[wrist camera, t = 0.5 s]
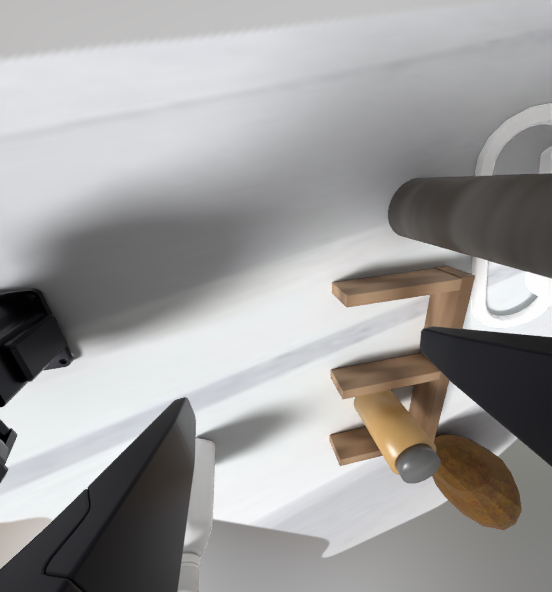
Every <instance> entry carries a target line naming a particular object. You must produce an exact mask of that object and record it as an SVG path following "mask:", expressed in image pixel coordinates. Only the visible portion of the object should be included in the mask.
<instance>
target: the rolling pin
mask: <svg viewBox="0 0 552 592" xmlns="http://www.w3.org/2000/svg"><path fill="white" fill-rule="evenodd" d="M542 124H546V125H551V126H552V103H548V104H543V105H537V106H532V107H530V108H528V109H526V110H524V111H522V112H520V113H518V114H516V115H514V116H513V117H511V118H509V119H507V120H506V121H505V122H504V123H503V124H502V125H501V126H500V127H499V128H498V129H497V130H496V131H495V132H494V133H493V134H491V135H490V136H489V138H488V139H487V141H486V143H485V145H484V147H483V149H482V150H481V152H480V154H479V156H478V160H477V165H476V170H475V175H474V176H492V175H493V171H494V167H495V163H496V159H497V157H498V155H499V154H500V152H501V150H502V149H503V147H504V146H505V144H506V143H508V142H509V141H510V140H511V139H512V138H513V137H514V136H515V135H516V134H517V133H519V132H521V131H523V130H525V129H527V128H529V127H531V126H536V125H542ZM546 173H552V146H551V147H549V148H548V149H546V150H545V151H543V152H542V154H541V157H540V165H539V173H538V174H546ZM487 271H488V260H484V259H481V258H477V257H474V256H472V275H474V276H475V279H474V283H473V287H472V291H471V308H472V312H473V316H474V317H475V318H476V319H477V320H478V321H479V322H480V323H482V324H484V325H487V326H490V327H493V328H509V327H514V326H518V325H521V324H524V323H528V322H529V321H531V320H533V319H535V318H536V317H538V316H540V315H541V314H542V313H544V312H545V311H546V310H547V309H548V308H549V307H550V306H551V305H552V279H551V278H548V277H544V276H541V275H537V274H533V273H530V272H526V279H525V285H526V286H527V288H528V289H529V290H530V291H531V292H532V293H534V294H535V295H536V296H537V298H536V299H535V300H534V301H533V302H532V303H531V304H530V305H529V306H528V307H527V308H525V309H523V310H522V311H520V312H518V313H514V314H511V315H507V316H496V315H493V314H491V313H490V312H489V311H488V310H487V306H486V289H487Z"/></svg>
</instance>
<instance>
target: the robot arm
mask: <svg viewBox="0 0 552 592" xmlns="http://www.w3.org/2000/svg"><path fill="white" fill-rule="evenodd" d="M31 294H33V295H34V296H35V298H33V297H32V296H31ZM420 348H421V351H422V353H423V354H424V355H425V356H426V357H427V358H428V359H429V360H430V361H431V362H432V363H433V364H434V365H435V366H436V367H437V368H438V369H439V370H440V371H441V372H442V373H443V374H444V375H445V376H446V377H447V378H448V379H449V380H450V381H451V382H452V383H453V384H454V385H456V386H457V387H458V388H459V389H460V390H462V391H463V392H464V393H465V394H466V395H467V396H469V397H470V398H471V399H472V400H473V401H475V402H476V403H477V404H478V405H479V406H480V407H482V408H483V409H484V410H485V411H486V412H488V413H489V414H490V415H491V416H492V417H494V418H495V419H496V420H497V421H498V422H499V423H501V424H502V425H503V426H504V427H505V428H507V429H508V430H509V431H510V432H511V433H512V434H514V435H515V436H516V437H517V438H518V439H520V440H521V441H522V442H523V443H524V444H526V445H527V446H528V447H529V448H530V449H531V450H533V451H534V452H535V453H536V454H538V455H539V456H540V457H541V458H542V459H543V460H545V461H546V462H547V463H548V464H549V465H551V466H552V337H542V336H532V335H521V334H510V333H500V332H489V331H478V330H468V329H457V328H446V327H436V326H431V327H427V328H424V329H422V331H421V340H420ZM62 359H65V360H66V361H64V360H62ZM72 361H73V357H72V355H71V353H70V351H69V349H68V347H67V343H66V340H65V338H64V336H63V334H62V332H61V330H60V328H59V325H58V323H57V321H56V319H55V317H54V316H53V315H52V313H51V310H50V308H49V306H48V304H47V302H46V300H45V298H44V296H43V294H42V292H41V291H39V290H38V289H24V290H15V291H7V292H0V407H3V406H5V405H6V404H7V403H8V402H9V401H10V400H11V399H12V398H13V397H14V396H15V395H16V394H17V393H18V392H19V391H20V390H21V389H22V388H23V387H24V386H25V385H26V384H27V383H28V382H30V381H33V380H34V379H35V378H36V377H37V376H38V375H39V374H40V373H41V372H42V371H43V370H49V369H55V368H61V367H66V366H68V365H70V363H71V362H72ZM195 435H196V420H195V414H194V412H193V409H192V407H191V405H190V402H189V400H188V398H186V397H184V398H180V399H177V400H175V401H173V402H172V403H171V404H170V405H169V406H168V407H167V408H166V409H165V410H164V411H163V412H162V413H161V414H160V415H159V416H158V417H157V418H156V419H155V420H154V421H153V422H152V423H151V424H150V425H149V426H148V427H147V428H146V429H145V430H144V431H143V432H142V433H141V434H140V435H139V436H138V437H137V438H136V439H135V440H134V441H133V442H132V443H131V444H130V445H129V446H128V447H127V448H126V449H125V450H124V451H123V452H122V453H121V454H120V455H119V456H118V457H117V458H116V459H115V460H114V461H113V462H112V463H111V464H110V465H109V466H108V467H107V468H106V469H105V470H104V471H103V472H102V473H101V474H100V475H99V476H98V477H97V478H96V479H95V480H94V481H93V482H92V483H91V484H90V485H89V487H88V489H85V490H84V491H83V492H82V493H81V494H80V495H79V496H78V497H77V498H76V499H75V500H74V501H73V502H72V503H71V504H70V505H69V506H68V507H67V508H66V509H65V510H64V511H63V512H62V513H60V514H59V515H58V516H57V517H56V518H55V519H54V520H53V521H52V522H51V523H50V524H49V525H48V526H47V527H46V528H45V529H44V530H43V531H42V532H41V533H39V534H38V535H37V536H36V537H35V538H34V539H33V540H32V541H31V542H30V543H29V544H28V545H26V546H25V547H24V548H23V549H22V550H21V551H20V552H19V553H18V554H17V555H16V556H14V557H13V558H12V559H11V560H10V561H9V562H8V563H7V564H6V565H5V566H3V567H2V568H1V569H0V592H178V584H179V577H180V569H181V562H182V555H183V547H184V540H185V533H186V525H187V518H188V510H189V503H190V496H191V488H192V481H193V473H194V465H195ZM16 437H17V434H16V432H15V431H14V430H13V429H12V428H11V429H9V428H8V427H7V426H6V425H5V424H4V423H3V422H2V421H1V420H0V483H1V482H2V480H3V479H4V477H5V475H6V473H7V471H8V468H7V467H6V466H5V463H6V461H7V458H8V456H9V454H10V451H11V449H12V447H13V444H14V442H15V440H16Z"/></svg>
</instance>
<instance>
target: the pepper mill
mask: <svg viewBox="0 0 552 592" xmlns="http://www.w3.org/2000/svg"><path fill="white" fill-rule="evenodd" d="M388 219H389V223H390V226H391V228H392V229H393V231H394V232H395V233H397V234H398V235H400V236H403V237H407V238H410V239H414V240H417V241H421V242H424V243H428V244H431V245H435V246H438V247H442V248H445V249H449V250H452V251H456V252H459V253H463V254H467V255H470V256H474V257H477V258H481V259H484V260H488V261H491V262H495V263H498V264H502V265H505V266H509V267H512V268H516V269H519V270H523V271H526V272H530V273H533V274H537V275H541V276H544V277H548V278H551V279H552V173H546V174H519V175H492V176H465V177H438V178H416V179H412V180H410V181H408V182H406V183H405V184H403V185H402V186H401V187H400V188H399V189H398V190H397V191H396V193H395V194H394V196H393V198H392V200H391V202H390V205H389V210H388Z"/></svg>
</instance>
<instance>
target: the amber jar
mask: <svg viewBox="0 0 552 592" xmlns="http://www.w3.org/2000/svg"><path fill="white" fill-rule="evenodd" d="M354 407H355V409H356V411H357V412H358V414H359V416H360V417H361V419H362V421H363V422H364V424H365V426H366V428H367V429H368V431H369V433H370V434H371V436H372V438H373V439H374V441H375V443H376V444H377V446H378V448H379V449H380V451H381V453H382V455H383V456H384V458H385V460H386V461H387V463H388V465H389V466H390V468H391V470H392V471H393V472H394V473H396V474H399V475H400V476H401V477H402V479H403V480H404V481H405V482H407V483H418V482H421V481H424V480H426V479H428V478H429V477H431V476H432V475H433V474H434V473H435V472H436V471H437V470H438V468H439V466H440V463H441V460H440V458H439V456H438V455H437V454H436V446H435V444H434V443H433V442H432V440H431V439H430V438H429V437H428V435H427V434H426V433H425V432H424V431H423V429H422V428H421V427H420V426H419V424H418V423H417V422H416V421H415V420H414V418H413V417H412V416H411V415H410V413H409V412H408V411H407V410H406V409H405V407H404V406H403V405H402V404H401V402H400V401H399V400H398V399H397V398H396V396H395V395H394V394H393V393H392V391H391V390H385V391H381V392H376V393H371V394H366V395H361V396H356V398H355V400H354Z"/></svg>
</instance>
